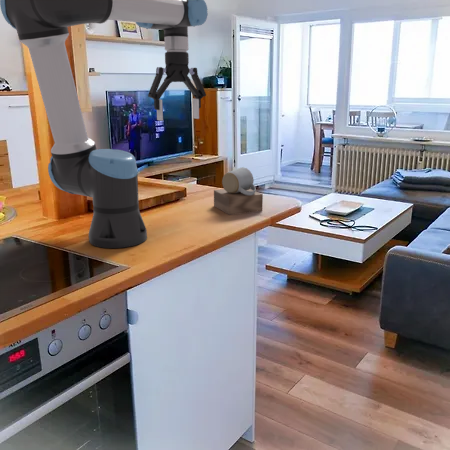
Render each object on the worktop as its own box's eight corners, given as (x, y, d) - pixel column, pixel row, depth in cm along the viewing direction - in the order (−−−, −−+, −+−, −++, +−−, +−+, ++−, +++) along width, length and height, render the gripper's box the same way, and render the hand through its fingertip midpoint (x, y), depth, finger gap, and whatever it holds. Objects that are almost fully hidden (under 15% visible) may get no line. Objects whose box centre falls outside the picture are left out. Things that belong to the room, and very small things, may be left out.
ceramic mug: (220, 192, 156) (220, 169, 154) (235, 188, 162) (236, 165, 160) (246, 198, 150) (246, 173, 148) (261, 193, 156) (262, 170, 154)
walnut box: (229, 216, 151) (229, 197, 150) (213, 207, 162) (213, 190, 160) (262, 212, 156) (262, 194, 154) (245, 203, 166) (245, 186, 165)
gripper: (203, 53, 162) (204, 117, 169) (135, 50, 149) (139, 120, 155) (215, 52, 156) (216, 118, 163) (145, 49, 143) (149, 122, 149)
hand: (178, 119), depth 159 cm, fingers open, 13 cm apart
